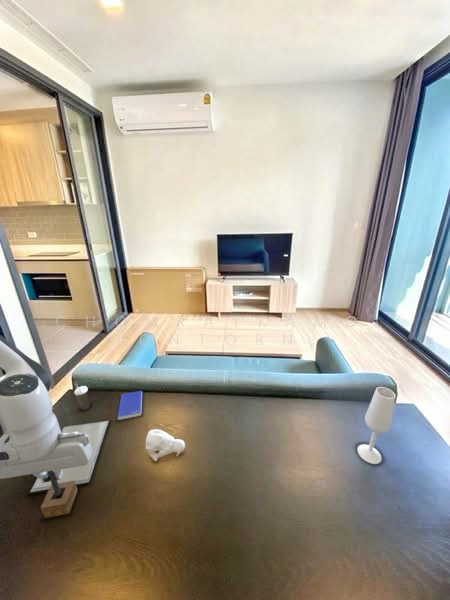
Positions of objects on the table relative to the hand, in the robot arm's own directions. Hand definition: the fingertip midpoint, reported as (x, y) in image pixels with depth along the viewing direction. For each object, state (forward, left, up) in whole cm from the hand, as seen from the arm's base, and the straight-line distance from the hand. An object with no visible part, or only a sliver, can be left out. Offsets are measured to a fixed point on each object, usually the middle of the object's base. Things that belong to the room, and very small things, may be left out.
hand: (53, 478), depth 63 cm
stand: (0, 0, -10) cm, 10 cm away
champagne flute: (+90, -2, -10) cm, 90 cm away
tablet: (-2, +15, -10) cm, 18 cm away
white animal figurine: (+27, +10, -10) cm, 30 cm away
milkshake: (-6, +36, -10) cm, 38 cm away
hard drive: (+12, +33, -10) cm, 36 cm away
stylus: (0, 0, -6) cm, 6 cm away
